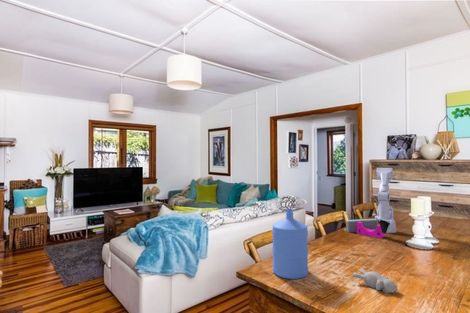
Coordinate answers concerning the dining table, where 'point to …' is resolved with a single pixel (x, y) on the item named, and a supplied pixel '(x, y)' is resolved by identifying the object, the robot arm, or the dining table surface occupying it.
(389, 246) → the dining table surface
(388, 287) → the bunny figurine
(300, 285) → the dining table surface
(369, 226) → the backstop wall
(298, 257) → the water jug
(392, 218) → the robot arm
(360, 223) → the toy block
